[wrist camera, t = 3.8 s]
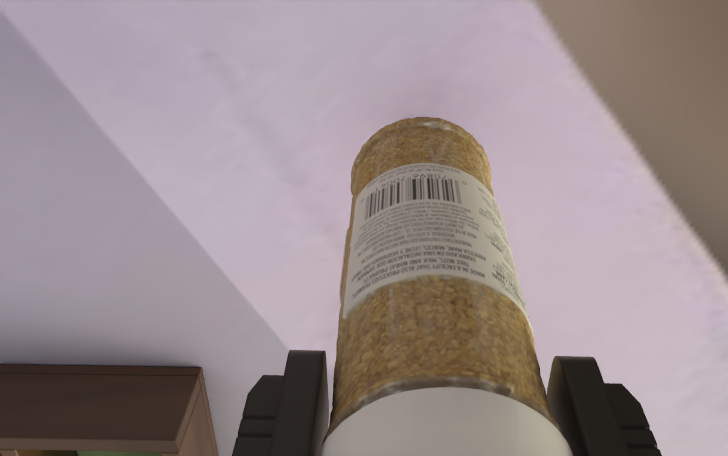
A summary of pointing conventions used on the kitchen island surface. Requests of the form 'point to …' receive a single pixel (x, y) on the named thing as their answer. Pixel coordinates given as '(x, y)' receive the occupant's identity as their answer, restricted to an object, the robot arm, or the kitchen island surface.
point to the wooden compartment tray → (104, 411)
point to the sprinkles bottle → (433, 309)
